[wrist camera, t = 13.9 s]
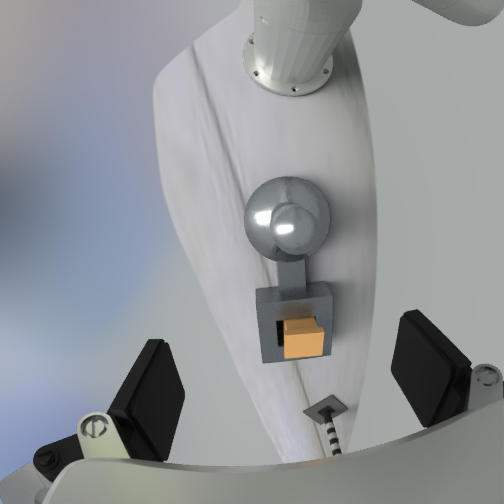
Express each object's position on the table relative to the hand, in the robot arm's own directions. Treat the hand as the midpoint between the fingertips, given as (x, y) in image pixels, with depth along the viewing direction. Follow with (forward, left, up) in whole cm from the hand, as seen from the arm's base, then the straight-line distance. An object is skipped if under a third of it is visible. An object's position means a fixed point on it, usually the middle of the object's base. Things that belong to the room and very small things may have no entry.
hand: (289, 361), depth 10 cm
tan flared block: (+13, +3, -28) cm, 31 cm away
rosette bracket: (+6, +3, -28) cm, 29 cm away
